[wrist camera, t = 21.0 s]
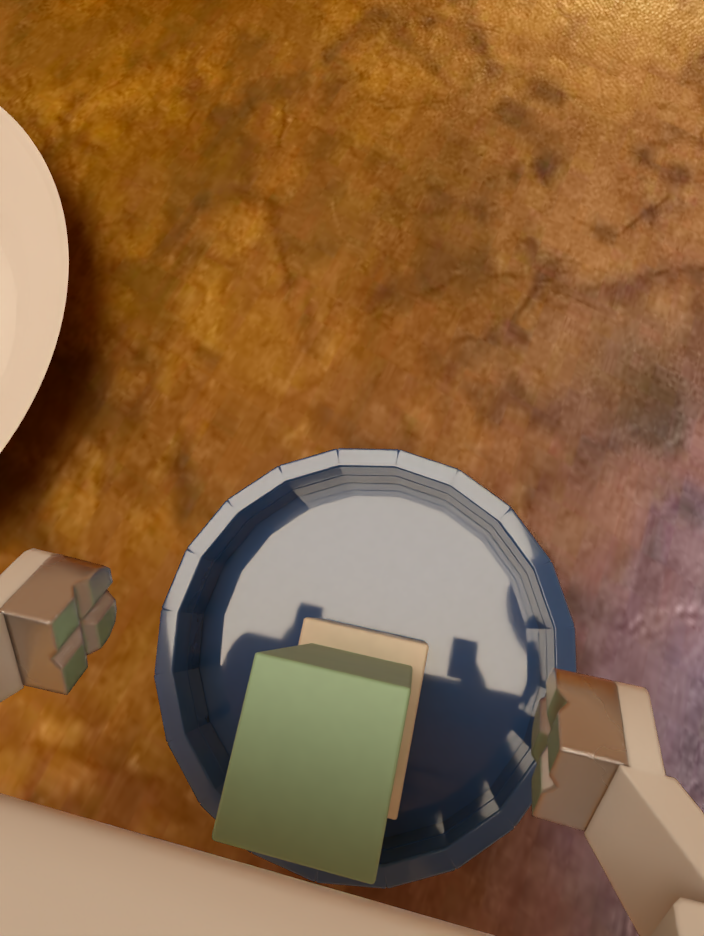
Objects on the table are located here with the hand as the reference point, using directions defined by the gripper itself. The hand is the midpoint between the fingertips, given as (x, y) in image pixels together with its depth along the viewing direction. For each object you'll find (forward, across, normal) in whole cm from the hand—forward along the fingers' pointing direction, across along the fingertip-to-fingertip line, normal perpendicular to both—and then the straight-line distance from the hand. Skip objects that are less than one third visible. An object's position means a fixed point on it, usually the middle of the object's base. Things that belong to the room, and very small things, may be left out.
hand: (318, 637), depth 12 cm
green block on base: (+8, 0, +12) cm, 14 cm away
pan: (+10, 0, +11) cm, 15 cm away
